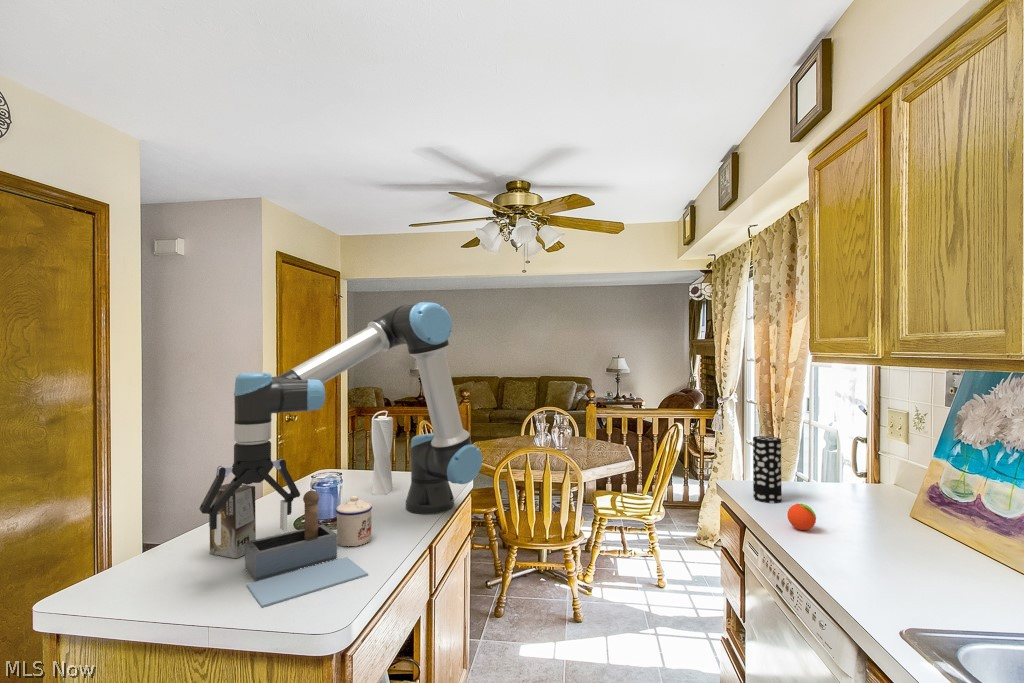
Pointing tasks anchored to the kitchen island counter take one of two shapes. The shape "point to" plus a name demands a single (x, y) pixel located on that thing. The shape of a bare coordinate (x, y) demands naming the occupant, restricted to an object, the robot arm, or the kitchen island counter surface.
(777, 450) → the spotted tube
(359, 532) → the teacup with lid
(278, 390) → the robot arm
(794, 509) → the clementine
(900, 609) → the kitchen island counter surface
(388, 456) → the skyscraper
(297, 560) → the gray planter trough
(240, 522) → the coffee box
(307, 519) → the walnut peg
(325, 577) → the slate mat
